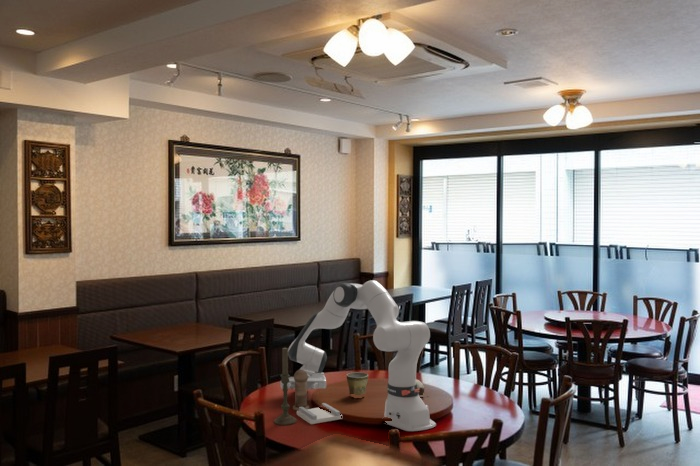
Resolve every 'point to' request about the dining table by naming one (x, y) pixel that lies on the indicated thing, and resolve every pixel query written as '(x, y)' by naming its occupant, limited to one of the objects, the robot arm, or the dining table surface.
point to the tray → (319, 414)
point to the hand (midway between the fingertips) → (301, 387)
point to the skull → (420, 387)
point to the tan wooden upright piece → (300, 390)
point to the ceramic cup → (357, 382)
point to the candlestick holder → (285, 393)
